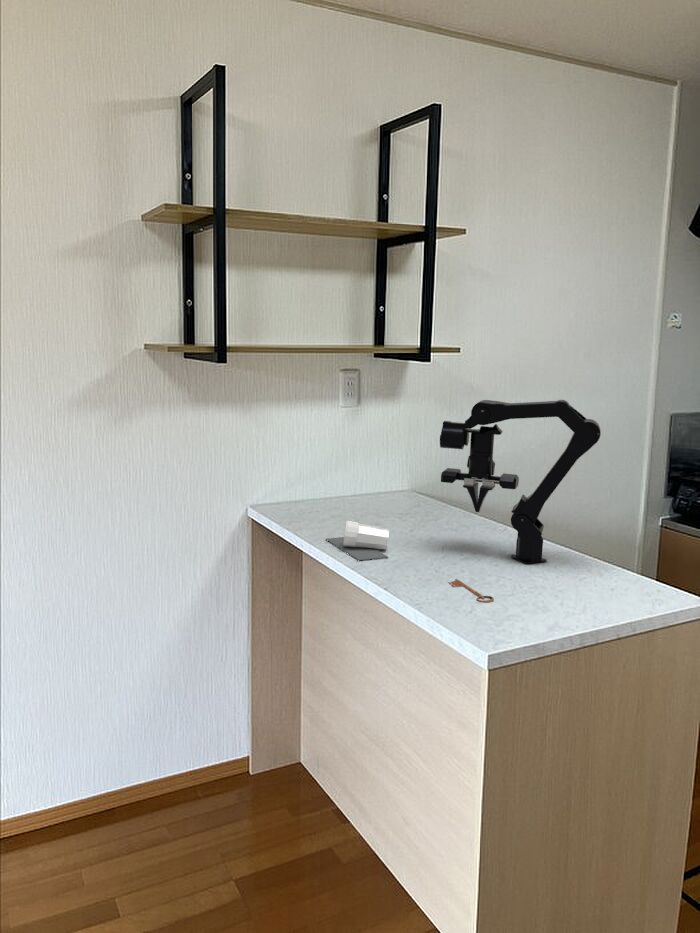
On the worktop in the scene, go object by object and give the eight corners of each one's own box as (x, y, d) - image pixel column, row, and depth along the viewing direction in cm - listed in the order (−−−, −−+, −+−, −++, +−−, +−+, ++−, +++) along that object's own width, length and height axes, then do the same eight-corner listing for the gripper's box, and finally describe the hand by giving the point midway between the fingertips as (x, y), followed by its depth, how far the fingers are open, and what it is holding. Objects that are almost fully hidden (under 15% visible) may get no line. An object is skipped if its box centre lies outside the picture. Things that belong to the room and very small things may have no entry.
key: (441, 585, 188) (472, 606, 174) (441, 581, 188) (472, 602, 174) (464, 581, 190) (496, 602, 176) (463, 577, 190) (496, 598, 176)
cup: (388, 529, 215) (346, 523, 215) (390, 524, 209) (347, 518, 209) (385, 554, 213) (342, 548, 213) (387, 550, 207) (343, 543, 207)
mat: (387, 558, 205) (388, 556, 205) (358, 561, 201) (358, 559, 201) (352, 537, 222) (352, 536, 222) (325, 540, 219) (325, 538, 219)
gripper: (523, 449, 211) (519, 509, 213) (451, 443, 217) (448, 501, 219) (517, 456, 200) (512, 518, 203) (442, 449, 206) (438, 510, 209)
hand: (477, 511), depth 209 cm, fingers closed
